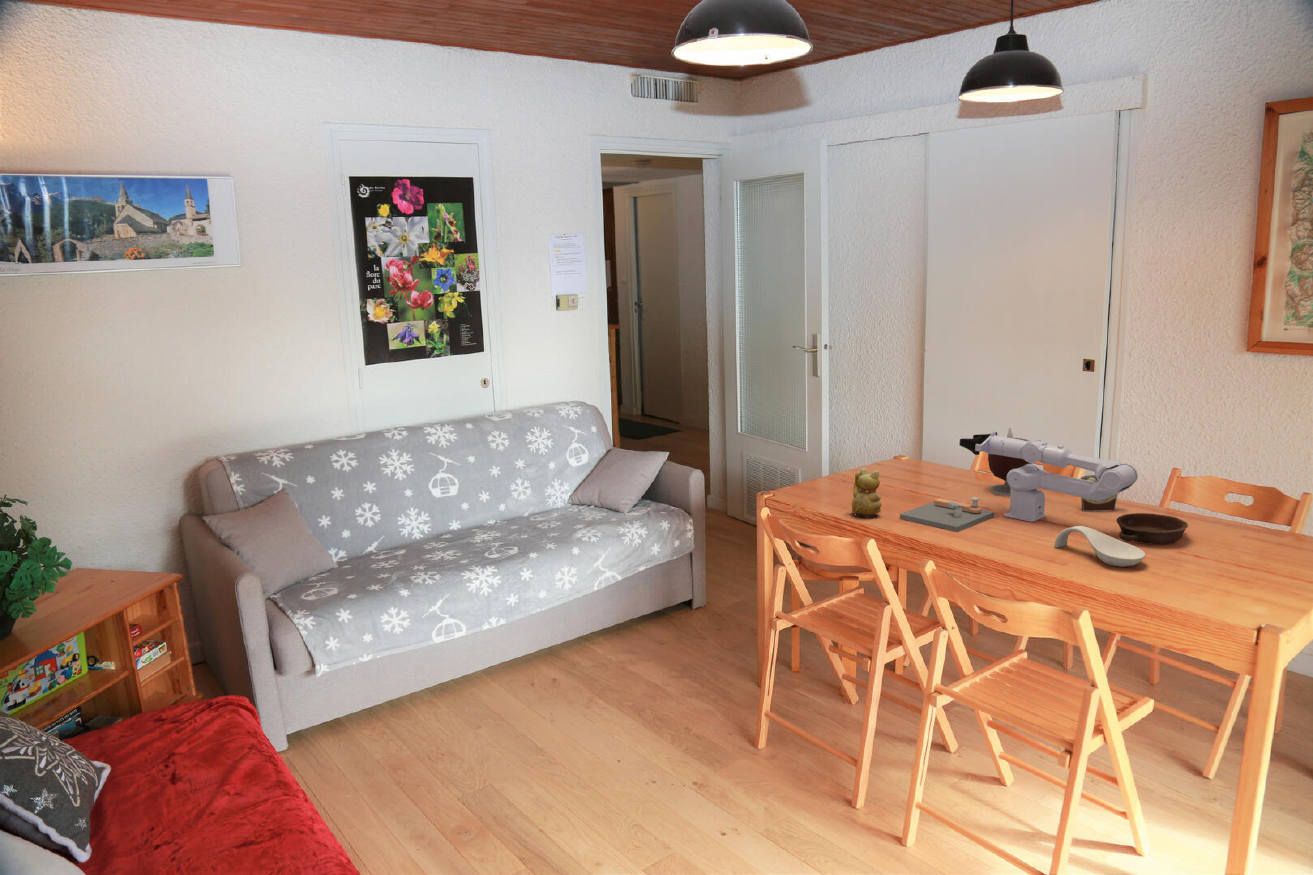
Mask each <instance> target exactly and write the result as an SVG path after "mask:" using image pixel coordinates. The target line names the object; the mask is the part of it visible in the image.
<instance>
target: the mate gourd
mask: <svg viewBox="0 0 1313 875" xmlns="http://www.w3.org/2000/svg"><path fill="white" fill-rule="evenodd" d="M1007 438H1014V439H1020V440H1024V441H1030V442H1032V441H1031V440H1030V439H1026V438H1022V437H1020V438H1019V437H1014V435H1013V431H1012V428H1011V427H1009V428H1008V432H1007ZM987 460H988V462H987V463H988V467H989V471H990V472H991V473H992V474H993V476H994V477H996V478H998V479H1001V480H1003V481H1004V483H1003V484H997V485H993V486H991V487H990V488H989V492H990V493H991V492H992V493H991V494H994V495H997V496H1002V497H1010V492H1011V489H1010V486H1009V484H1008V483H1007V474H1008V472H1009V471H1010V470H1013V469H1017V468H1020V467H1022V466H1024V465H1026V464H1033V463H1029V462H1027V461H1025V460H1024V459H1021V458H1014V457H1008V456H1002V455H996V454H988V453H987Z"/></svg>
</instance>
